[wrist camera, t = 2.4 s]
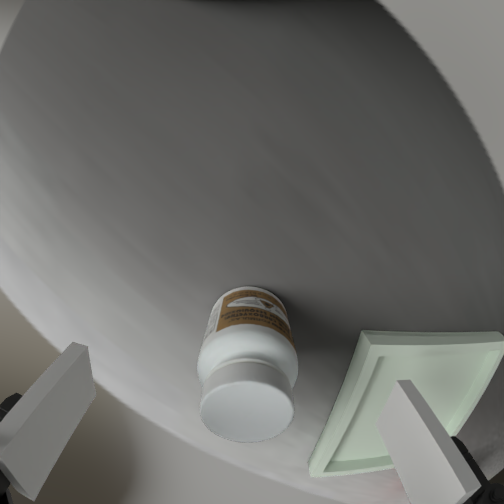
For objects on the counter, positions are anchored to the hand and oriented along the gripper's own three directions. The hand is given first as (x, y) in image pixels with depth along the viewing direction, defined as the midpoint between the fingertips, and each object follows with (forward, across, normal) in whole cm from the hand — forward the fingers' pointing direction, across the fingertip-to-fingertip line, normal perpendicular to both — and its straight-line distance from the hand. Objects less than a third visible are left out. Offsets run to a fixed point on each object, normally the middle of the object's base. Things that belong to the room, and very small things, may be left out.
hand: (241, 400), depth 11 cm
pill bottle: (+7, 0, +1) cm, 7 cm away
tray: (+6, +14, -6) cm, 17 cm away
